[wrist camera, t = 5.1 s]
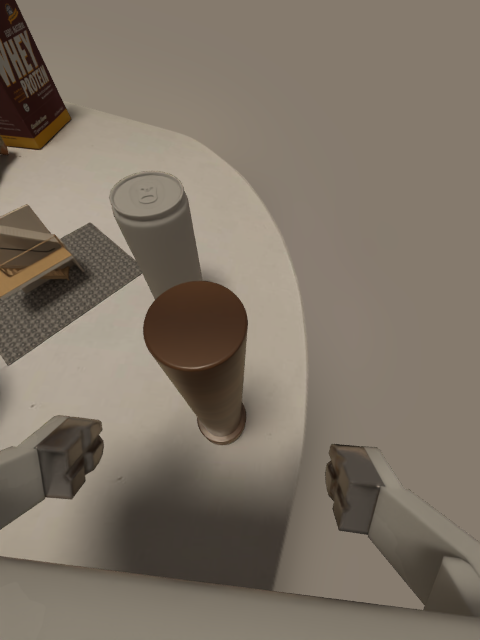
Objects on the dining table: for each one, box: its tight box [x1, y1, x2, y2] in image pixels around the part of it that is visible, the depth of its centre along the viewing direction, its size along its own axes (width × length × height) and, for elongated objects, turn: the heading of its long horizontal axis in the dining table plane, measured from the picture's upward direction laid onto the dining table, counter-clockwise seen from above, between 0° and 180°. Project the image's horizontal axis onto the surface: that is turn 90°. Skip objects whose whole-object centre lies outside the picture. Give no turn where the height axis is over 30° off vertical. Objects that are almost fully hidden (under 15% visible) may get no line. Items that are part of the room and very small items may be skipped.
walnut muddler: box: [143, 281, 248, 445], centre depth 14 cm, size 4×4×16 cm
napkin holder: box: [0, 204, 85, 301], centre depth 24 cm, size 3×7×7 cm, turn 137°
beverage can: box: [109, 171, 202, 300], centre depth 21 cm, size 5×5×12 cm
